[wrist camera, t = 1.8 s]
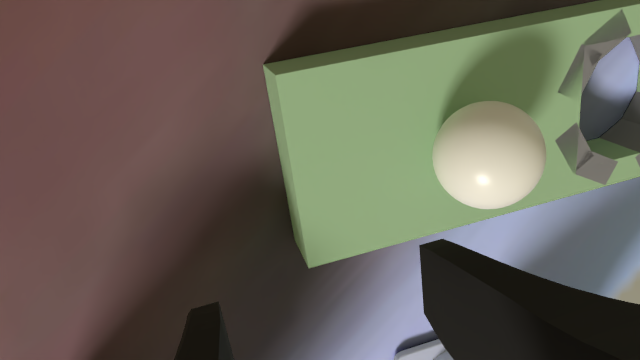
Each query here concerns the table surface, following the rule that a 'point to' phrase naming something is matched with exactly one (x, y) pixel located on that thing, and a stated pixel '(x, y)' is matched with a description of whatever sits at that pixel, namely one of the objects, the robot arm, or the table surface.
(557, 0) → the table surface
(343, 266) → the table surface
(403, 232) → the putting mat
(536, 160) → the ball
